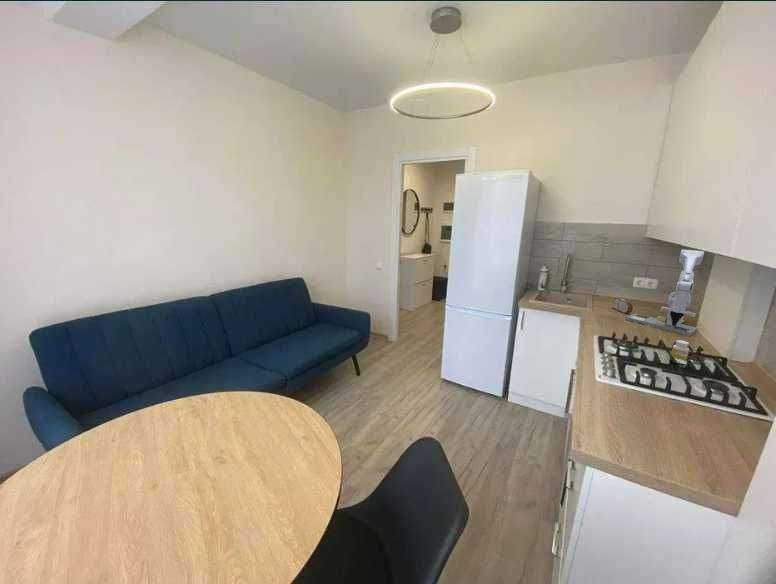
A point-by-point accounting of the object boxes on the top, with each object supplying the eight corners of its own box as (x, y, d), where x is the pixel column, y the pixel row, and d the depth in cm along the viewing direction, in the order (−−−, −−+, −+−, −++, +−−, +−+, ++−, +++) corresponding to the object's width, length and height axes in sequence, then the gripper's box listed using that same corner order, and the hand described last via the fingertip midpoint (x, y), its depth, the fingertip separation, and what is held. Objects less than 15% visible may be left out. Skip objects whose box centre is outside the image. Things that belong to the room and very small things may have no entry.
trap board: (634, 316, 204) (634, 313, 203) (697, 331, 180) (698, 328, 180) (625, 320, 196) (626, 317, 195) (690, 336, 172) (691, 332, 172)
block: (657, 322, 187) (659, 315, 186) (666, 324, 184) (667, 317, 183) (655, 323, 185) (657, 316, 184) (664, 325, 182) (665, 318, 181)
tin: (631, 315, 206) (634, 302, 204) (626, 315, 206) (629, 302, 204) (616, 308, 221) (618, 296, 219) (611, 308, 221) (613, 296, 219)
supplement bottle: (670, 358, 144) (675, 338, 142) (686, 362, 140) (691, 342, 138) (668, 361, 141) (673, 341, 138) (684, 366, 137) (690, 345, 134)
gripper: (661, 300, 180) (655, 322, 183) (695, 306, 169) (688, 330, 172) (665, 298, 184) (659, 320, 187) (699, 304, 173) (692, 328, 176)
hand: (673, 325), depth 180 cm, fingers closed
